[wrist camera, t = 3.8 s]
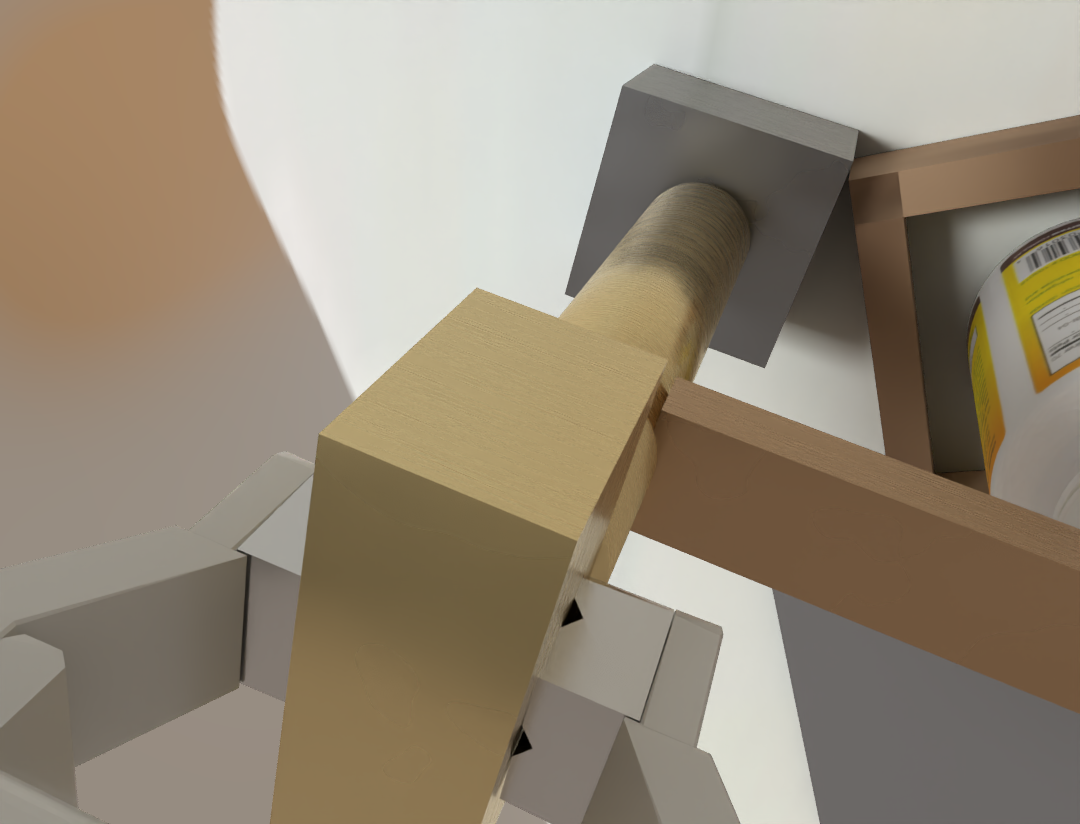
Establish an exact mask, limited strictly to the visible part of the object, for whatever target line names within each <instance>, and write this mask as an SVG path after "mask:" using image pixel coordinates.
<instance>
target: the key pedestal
mask: <svg viewBox="0 0 1080 824" xmlns="http://www.w3.org/2000/svg"><path fill="white" fill-rule="evenodd" d="M858 132H859V130H856V129H853V128H850V127H847V126H844V125H841V124H838V123H834V122H831V121H828V120H825V119H822V118H819V117H816V116H813V115H810V114H807V113H804V112H800V111H797V110H794V109H791V108H788V107H785V106H782V105H779V104H776V103H773V102H770V101H766V100H763V99H760V98H757V97H754V96H751V95H748V94H745V93H742V92H739V91H736V90H733V89H729V88H726V87H723V86H720V85H717V84H714V83H711V82H708V81H705V80H702V79H699V78H695V77H692V76H689V75H686V74H683V73H680V72H677V71H674V70H671V69H668V68H665V67H661V66H658V65H655V64H653V65H652V66H650V67H649V68H647V69H646V70H644V71H643V72H641V73H640V74H638V75H637V76H636V77H634V78H633V79H631V80H630V81H628V82H627V83H625V84H624V85H623V86H622V89H621V93H620V96H619V100H618V104H617V107H616V111H615V114H614V118H613V122H612V125H611V129H610V133H609V136H608V140H607V143H606V147H605V151H604V154H603V158H602V162H601V165H600V169H599V172H598V176H597V180H596V183H595V187H594V191H593V194H592V198H591V201H590V205H589V209H588V212H587V216H586V220H585V223H584V227H583V230H582V234H581V238H580V241H579V245H578V249H577V252H576V256H575V259H574V263H573V267H572V270H571V274H570V278H569V281H568V285H567V288H566V292H565V294H566V295H568V296H571V297H574V298H575V297H576V296H577V294H578V293H579V292H580V291H581V289H582V288H583V287H584V286H585V285H586V283H587V282H588V281H589V280H590V278H591V277H592V276H593V275H594V273H595V272H596V271H597V270H598V268H599V267H600V266H601V265H602V264H603V262H604V261H605V260H606V259H607V257H608V256H609V255H610V254H611V252H612V251H613V250H614V249H615V247H616V246H617V245H618V244H619V243H620V241H621V240H622V239H623V238H624V236H625V235H626V234H627V233H628V231H629V230H630V229H631V228H632V226H633V225H634V224H635V223H636V222H637V220H638V219H639V218H640V217H641V215H642V214H643V213H644V212H645V210H646V209H647V208H648V207H649V206H650V204H651V203H652V202H653V201H654V200H655V199H656V198H657V197H658V196H659V195H660V194H661V193H663V192H664V191H666V190H668V189H669V188H672V187H674V186H677V185H680V184H685V183H703V184H708V185H712V186H714V187H717V188H719V189H721V190H723V191H724V192H726V193H727V194H729V195H730V196H731V197H732V198H733V199H734V200H735V201H736V202H737V203H738V204H739V206H740V207H741V208H742V210H743V212H744V213H745V216H746V218H747V221H748V224H749V228H750V246H749V251H748V254H747V257H746V259H745V262H744V264H743V266H742V269H741V271H740V273H739V276H738V278H737V280H736V283H735V285H734V287H733V290H732V292H731V294H730V297H729V299H728V301H727V304H726V306H725V308H724V311H723V313H722V315H721V318H720V320H719V323H718V325H717V327H716V330H715V332H714V334H713V337H712V339H711V341H710V344H709V346H708V347H709V348H711V349H714V350H717V351H720V352H722V353H725V354H728V355H730V356H733V357H736V358H738V359H741V360H744V361H747V362H749V363H752V364H755V365H757V366H760V367H763V368H765V366H766V364H767V362H768V359H769V357H770V354H771V352H772V350H773V347H774V345H775V343H776V340H777V338H778V336H779V333H780V331H781V329H782V326H783V324H784V322H785V319H786V317H787V315H788V312H789V310H790V308H791V305H792V303H793V301H794V298H795V296H796V294H797V291H798V289H799V287H800V284H801V282H802V280H803V277H804V275H805V273H806V270H807V268H808V266H809V263H810V261H811V259H812V256H813V254H814V252H815V249H816V247H817V245H818V242H819V240H820V238H821V235H822V233H823V231H824V228H825V226H826V224H827V221H828V219H829V217H830V214H831V212H832V210H833V207H834V205H835V203H836V200H837V198H838V196H839V193H840V191H841V189H842V186H843V184H844V182H845V179H846V177H847V175H848V172H849V170H850V168H851V165H852V163H853V160H854V154H855V149H856V143H857V137H858Z"/></svg>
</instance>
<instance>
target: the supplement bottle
mask: <svg viewBox="0 0 1080 824" xmlns="http://www.w3.org/2000/svg"><path fill="white" fill-rule="evenodd" d="M967 353H968V364H969V370H970V376H971V382H972V387H973V394H974V400H975V407H976V413H977V419H978V426H979V432H980V438H981V445H982V450H983V457H984V464H985V470H986V476H987V483H988V488H989V495H991V496H994V497H996V498H999V499H1002V500H1004V501H1007V502H1010V503H1012V504H1015V505H1018V506H1020V507H1023V508H1026V509H1028V510H1031V511H1033V512H1036V513H1039V514H1041V515H1044V516H1047V517H1049V518H1052V519H1055V520H1057V521H1060V522H1063V523H1065V524H1068V525H1070V526H1073V527H1076V528H1078V529H1080V218H1077V219H1073V220H1070V221H1067V222H1064V223H1061V224H1058V225H1056V226H1054V227H1051V228H1049V229H1047V230H1045V231H1043V232H1041V233H1039V234H1037V235H1035V236H1033V237H1032V238H1030V239H1028V240H1027V241H1025V242H1024V243H1022V244H1021V245H1020V246H1018V247H1017V248H1016V249H1014V250H1013V251H1012V252H1011V253H1010V254H1009V255H1007V256H1006V257H1005V258H1004V259H1003V260H1002V261H1001V262H1000V263H999V264H998V265H997V266H996V268H995V269H994V270H993V271H992V272H991V274H990V275H989V276H988V278H987V279H986V281H985V282H984V284H983V285H982V287H981V289H980V290H979V292H978V294H977V296H976V299H975V301H974V303H973V306H972V309H971V312H970V316H969V320H968V326H967Z"/></svg>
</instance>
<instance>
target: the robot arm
mask: <svg viewBox="0 0 1080 824" xmlns="http://www.w3.org/2000/svg"><path fill="white" fill-rule="evenodd" d="M314 468H315V464H314V463H312V462H310V461H307V460H305V459H303V458H300V457H298V456H296V455H294V454H291V453H289V452H287V451H286V452H282V453H278V454H275V455H273V456H272V457H271V458H269V459H268V460H267V461H266V462H265V463H264V464H263V465H261V467H259V468H258V469H257V470H256V471H255V472H254V473H252V474H251V475H250V476H249V477H248V478H247V479H246V480H245V481H243V482H242V483H241V484H240V485H239V486H238V487H237V488H235V489H234V490H233V491H232V492H231V493H230V494H229V495H228V496H226V497H225V498H224V499H223V500H222V501H221V502H220V503H219V504H217V505H216V506H215V507H214V508H213V509H212V510H211V511H209V512H208V513H207V514H206V515H205V516H204V517H203V518H202V519H200V520H199V521H198V522H197V523H196V524H195V525H194V526H193V527H191V528H190V529H189V530H186V529H184V528H181V527H179V526H172V527H168V528H164V529H159V530H155V531H151V532H147V533H143V534H139V535H135V536H131V537H127V538H123V539H119V540H115V541H111V542H107V543H103V544H99V545H95V546H91V547H86V548H83V549H79V550H75V551H70V552H66V553H63V554H58V555H54V556H50V557H46V558H42V559H38V560H34V561H30V562H26V563H22V564H18V565H13V566H9V567H5V568H1V569H0V824H109V823H107V822H105V821H103V820H100V819H98V818H96V817H94V816H92V815H90V814H88V813H86V812H84V811H82V810H80V809H79V808H78V797H77V787H76V775H75V767H76V766H78V765H81V764H82V763H85V762H87V761H89V760H91V759H93V758H95V757H97V756H99V755H101V754H103V753H105V752H107V751H110V750H112V749H113V748H116V747H118V746H119V745H122V744H124V743H126V742H128V741H130V740H132V739H134V738H136V737H138V736H140V735H142V734H144V733H147V732H149V731H151V730H153V729H155V728H157V727H159V726H161V725H163V724H165V723H167V722H169V721H171V720H173V719H176V718H178V717H180V716H182V715H184V714H186V713H188V712H190V711H192V710H194V709H196V708H198V707H200V706H203V705H205V704H207V703H209V702H210V701H213V700H215V699H217V698H219V697H221V696H223V695H225V694H227V693H229V692H231V691H234V690H236V689H237V688H239V684H240V683H241V684H243V685H246V686H248V687H250V688H253V689H255V690H258V691H260V692H262V693H265V694H267V695H270V696H272V697H274V698H277V699H279V700H282V701H284V702H285V699H286V691H287V683H288V675H289V667H290V659H291V651H292V643H293V635H294V627H295V619H296V611H297V603H298V595H299V588H300V580H301V572H302V564H303V556H304V548H305V540H306V532H307V524H308V516H309V508H310V500H311V492H312V484H313V476H314ZM722 638H723V631H722V627H721V626H718V625H715V624H713V623H710V622H707V621H705V620H702V619H700V618H697V617H694V616H692V615H689V614H686V613H684V612H681V611H679V610H676V611H675V612H674V609H671V608H669V607H666V606H664V605H661V604H658V603H656V602H653V601H651V600H648V599H646V598H643V597H641V596H638V595H636V594H633V593H631V592H628V591H626V590H623V589H621V588H618V587H616V586H613V585H610V584H608V583H605V582H603V581H600V580H598V579H595V578H593V577H590V576H588V575H586V576H585V578H584V579H583V581H582V583H581V585H580V588H579V590H578V592H577V594H576V596H575V598H574V601H573V604H572V607H571V610H570V613H569V615H568V618H567V621H566V624H565V626H564V627H561V628H560V631H559V633H558V635H557V637H556V639H555V641H554V643H553V646H552V648H551V650H550V652H549V654H548V656H547V659H546V661H545V663H544V665H543V667H542V669H541V671H540V674H539V676H538V678H537V681H536V684H535V687H534V690H533V693H532V696H531V699H530V702H529V705H528V708H527V711H526V714H525V717H524V720H523V724H522V726H523V729H524V731H523V733H522V735H521V737H520V740H519V742H518V744H517V746H516V749H515V751H514V753H513V755H512V758H511V762H510V765H509V768H508V772H507V775H506V778H505V782H504V785H503V788H502V792H501V795H500V798H499V799H501V800H504V801H506V802H508V803H510V804H512V805H514V806H516V807H518V808H520V809H522V810H524V811H526V812H528V813H530V814H532V815H534V816H536V817H539V818H541V819H543V820H545V821H547V822H549V823H551V824H740V821H739V819H738V817H737V814H736V812H735V810H734V807H733V805H732V803H731V800H730V798H729V796H728V793H727V791H726V789H725V786H724V784H723V782H722V779H721V777H720V775H719V772H718V770H717V768H716V765H715V763H714V761H713V758H712V756H711V754H709V753H707V752H705V751H702V750H700V749H698V748H697V743H698V739H699V735H700V731H701V727H702V722H703V718H704V714H705V710H706V705H707V701H708V697H709V693H710V689H711V684H712V680H713V676H714V672H715V667H716V663H717V659H718V655H719V651H720V646H721V642H722Z"/></svg>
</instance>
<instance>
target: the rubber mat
mask: <svg viewBox="0 0 1080 824" xmlns="http://www.w3.org/2000/svg"><path fill="white" fill-rule="evenodd" d="M772 590H773V594H774V599H775V604H776V609H777V614H778V619H779V624H780V629H781V634H782V639H783V644H784V648H785V653H786V658H787V663H788V668H789V673H790V678H791V683H792V688H793V693H794V698H795V703H796V707H797V712H798V717H799V722H800V727H801V732H802V737H803V742H804V747H805V752H806V757H807V761H808V766H809V771H810V776H811V781H812V786H813V791H814V796H815V801H816V806H817V811H818V816H819V820H820V824H1080V714H1079V713H1076V712H1074V711H1071V710H1069V709H1066V708H1064V707H1061V706H1059V705H1057V704H1054V703H1052V702H1049V701H1047V700H1044V699H1042V698H1039V697H1037V696H1035V695H1032V694H1030V693H1027V692H1025V691H1022V690H1020V689H1017V688H1015V687H1013V686H1010V685H1008V684H1005V683H1003V682H1000V681H998V680H995V679H993V678H990V677H988V676H986V675H983V674H981V673H978V672H976V671H973V670H971V669H968V668H966V667H964V666H961V665H959V664H956V663H954V662H951V661H949V660H946V659H944V658H942V657H939V656H937V655H934V654H932V653H929V652H927V651H924V650H922V649H919V648H917V647H915V646H912V645H910V644H907V643H905V642H902V641H900V640H897V639H895V638H893V637H890V636H888V635H885V634H883V633H880V632H878V631H875V630H873V629H871V628H868V627H866V626H863V625H861V624H858V623H856V622H853V621H851V620H848V619H846V618H844V617H841V616H839V615H836V614H834V613H831V612H829V611H826V610H824V609H822V608H819V607H817V606H814V605H812V604H809V603H807V602H804V601H802V600H800V599H797V598H795V597H792V596H790V595H787V594H785V593H782V592H780V591H778V590H775V589H773V588H772Z"/></svg>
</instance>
